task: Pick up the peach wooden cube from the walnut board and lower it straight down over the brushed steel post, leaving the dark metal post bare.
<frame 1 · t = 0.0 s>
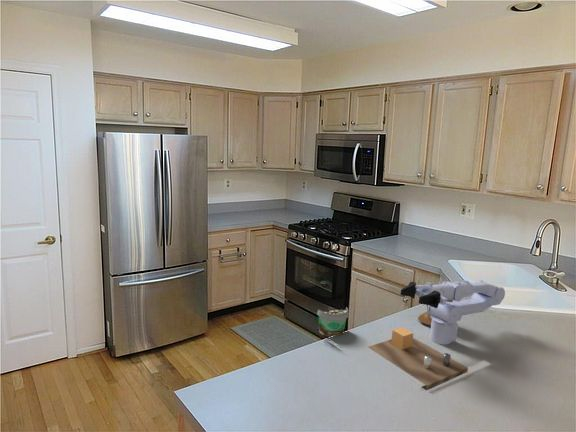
hand: (410, 296, 129), 22 cm above the worktop, tool horizontal, fingers open, 7 cm apart
food container: (333, 337, 144), on the worktop
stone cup: (436, 323, 160), on the worktop
peach wooden cube: (401, 344, 137), point 1 cm above the worktop, touching walnut board
walnut board: (415, 361, 130), on the worktop
dark post: (445, 369, 126), resting on walnut board
steel post: (426, 371, 124), resting on walnut board
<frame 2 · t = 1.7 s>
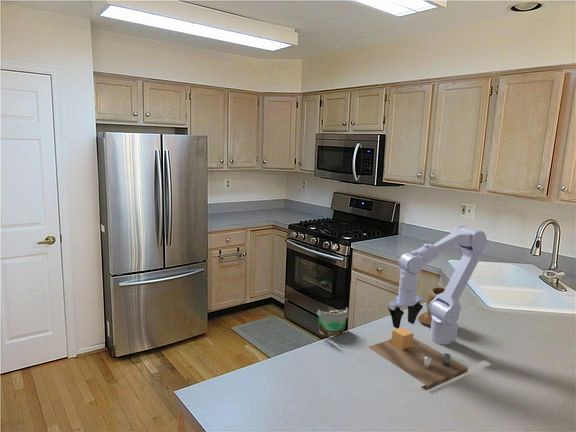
hand: (403, 325, 136), 9 cm above the worktop, tool pointing down, fingers open, 7 cm apart
nothing on the worktop moved.
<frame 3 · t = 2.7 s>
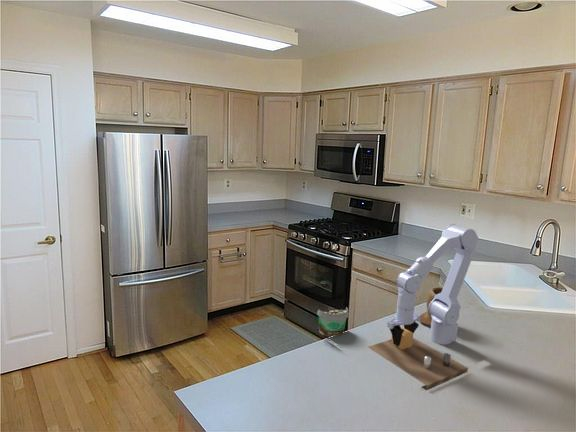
hand: (401, 342, 137), 2 cm above the worktop, tool pointing down, fingers closed on peach wooden cube, 5 cm apart
peach wooden cube: (401, 344, 137), point 1 cm above the worktop, touching gripper, walnut board
everything else where it was.
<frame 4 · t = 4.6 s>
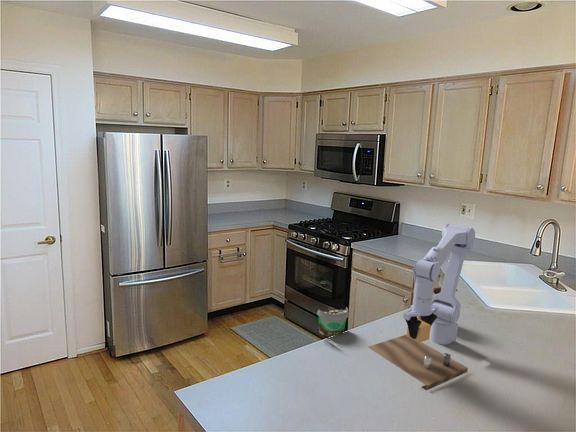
hand: (418, 335, 127), 9 cm above the worktop, tool pointing down, fingers closed on peach wooden cube, 5 cm apart
peach wooden cube: (417, 337, 128), point 9 cm above the worktop, touching gripper
everything else where it was.
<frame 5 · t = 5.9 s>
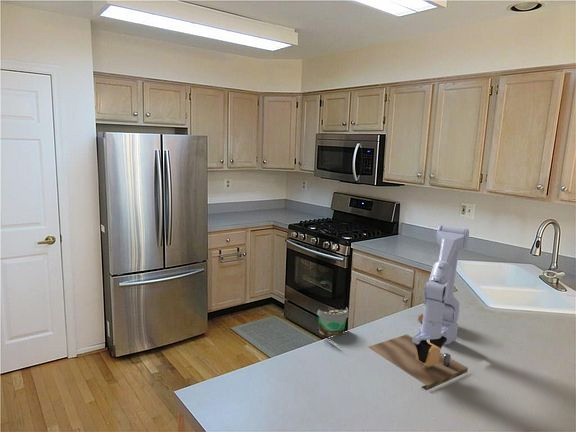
hand: (427, 359, 123), 4 cm above the worktop, tool pointing down, fingers closed on peach wooden cube, 5 cm apart
peach wooden cube: (427, 360, 123), point 4 cm above the worktop, touching gripper
everything else where it was.
when the fingers open (4 cm above the worktop, at t = 6.6 s): peach wooden cube drops 1 cm, resting on walnut board.
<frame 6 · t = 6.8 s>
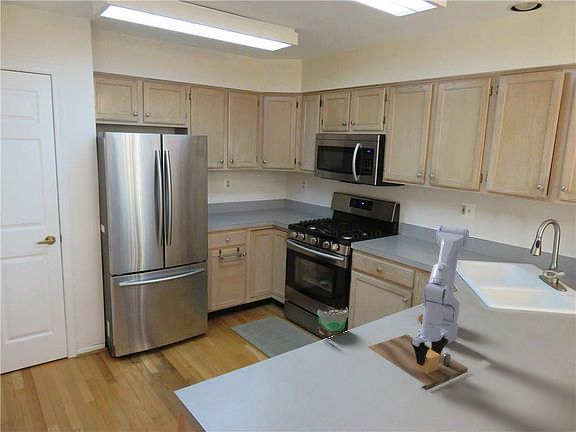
hand: (427, 361, 123), 4 cm above the worktop, tool pointing down, fingers open, 7 cm apart
peach wooden cube: (426, 367, 124), point 1 cm above the worktop, touching walnut board
everything else where it was.
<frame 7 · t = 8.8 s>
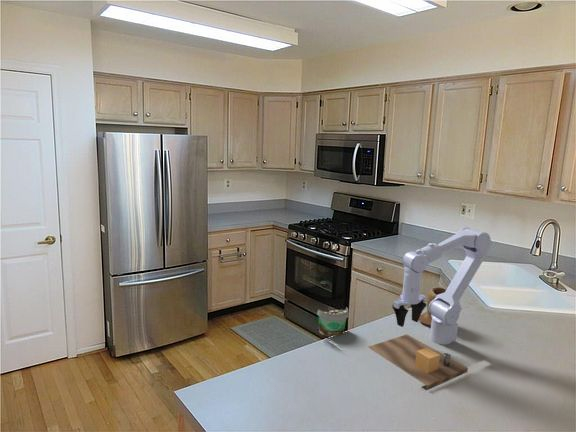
hand: (407, 323, 137), 9 cm above the worktop, tool pointing down, fingers open, 7 cm apart
nothing on the worktop moved.
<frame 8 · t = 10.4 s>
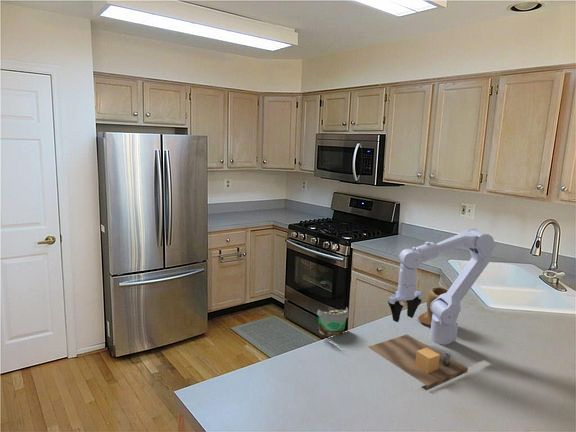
hand: (403, 318, 140), 9 cm above the worktop, tool pointing down, fingers open, 7 cm apart
nothing on the worktop moved.
at the end: peach wooden cube 0.1 cm from the steel post (horizontally); peach wooden cube point 1.5 cm above the worktop; peach wooden cube tilted 0° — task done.
